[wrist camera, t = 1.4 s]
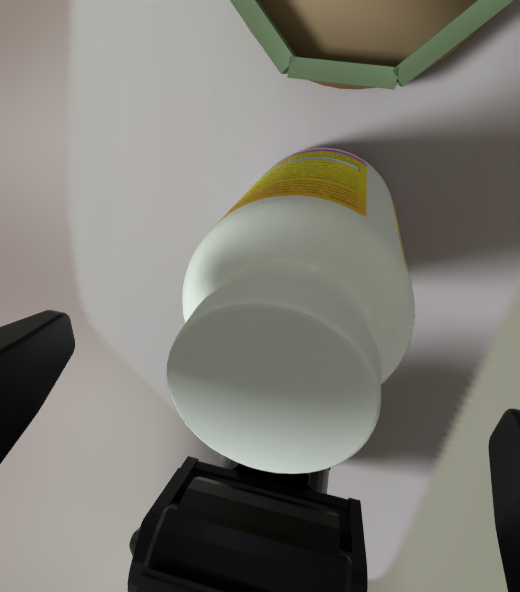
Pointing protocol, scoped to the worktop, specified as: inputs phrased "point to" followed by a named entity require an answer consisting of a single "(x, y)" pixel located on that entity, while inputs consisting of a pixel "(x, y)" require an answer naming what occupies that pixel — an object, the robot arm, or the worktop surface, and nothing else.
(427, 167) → the worktop surface
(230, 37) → the worktop surface
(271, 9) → the coaster ring
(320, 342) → the supplement bottle
